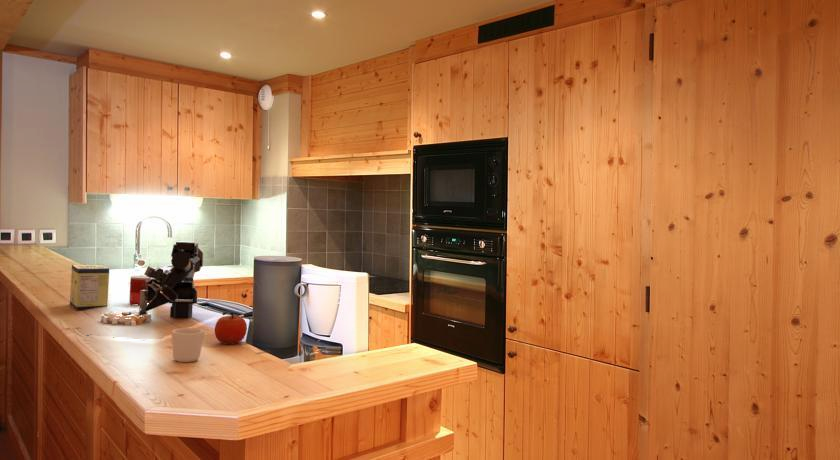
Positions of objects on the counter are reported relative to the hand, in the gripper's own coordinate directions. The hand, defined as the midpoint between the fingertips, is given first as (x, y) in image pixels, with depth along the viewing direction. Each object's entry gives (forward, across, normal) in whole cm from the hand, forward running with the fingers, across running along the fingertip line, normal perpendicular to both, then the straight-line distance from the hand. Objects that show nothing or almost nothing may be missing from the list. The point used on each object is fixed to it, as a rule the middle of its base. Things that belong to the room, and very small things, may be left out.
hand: (142, 307), depth 197 cm
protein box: (+12, -39, -1) cm, 41 cm away
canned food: (-2, -42, +13) cm, 44 cm away
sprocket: (+6, -2, 0) cm, 7 cm away
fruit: (-8, +38, +14) cm, 41 cm away
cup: (+4, +52, +1) cm, 52 cm away
